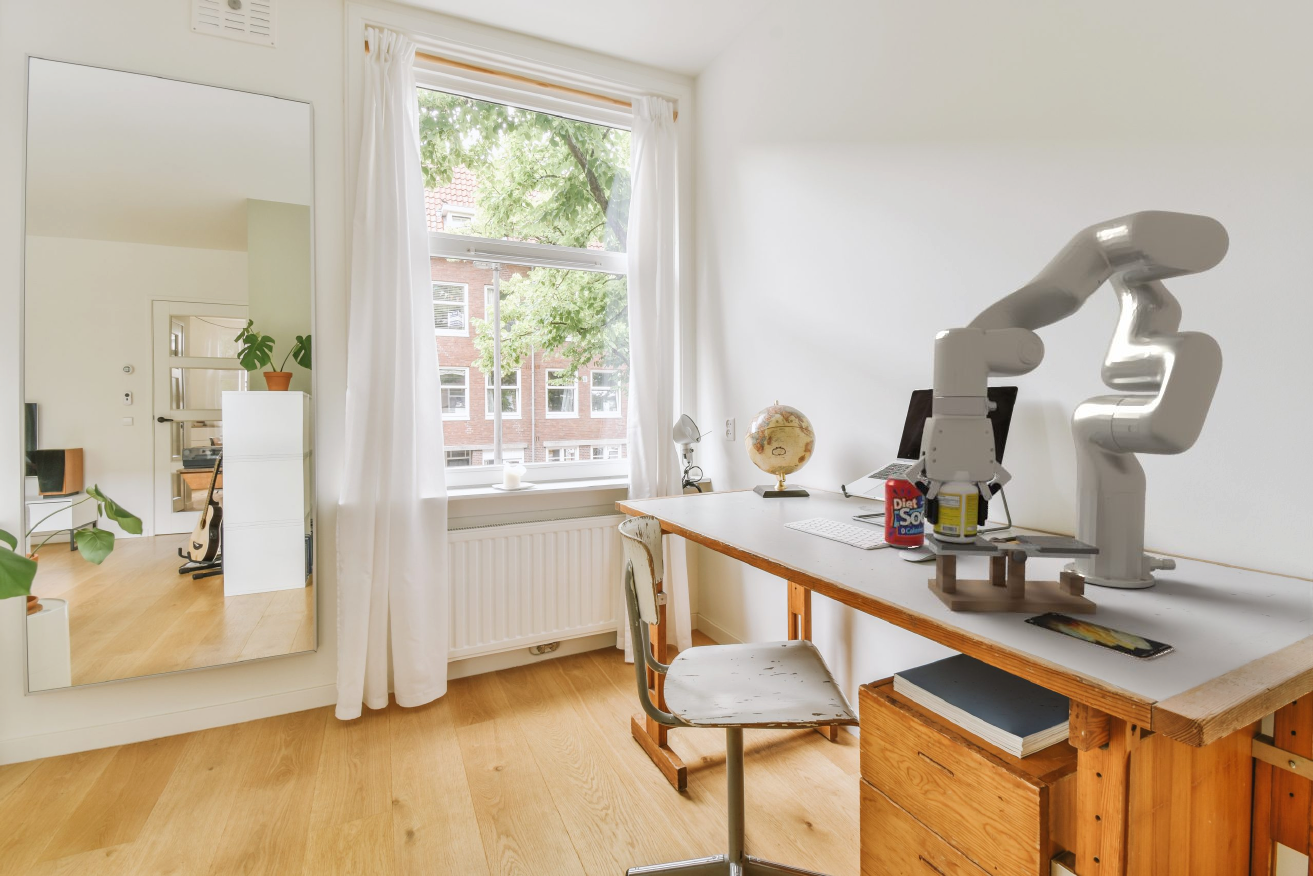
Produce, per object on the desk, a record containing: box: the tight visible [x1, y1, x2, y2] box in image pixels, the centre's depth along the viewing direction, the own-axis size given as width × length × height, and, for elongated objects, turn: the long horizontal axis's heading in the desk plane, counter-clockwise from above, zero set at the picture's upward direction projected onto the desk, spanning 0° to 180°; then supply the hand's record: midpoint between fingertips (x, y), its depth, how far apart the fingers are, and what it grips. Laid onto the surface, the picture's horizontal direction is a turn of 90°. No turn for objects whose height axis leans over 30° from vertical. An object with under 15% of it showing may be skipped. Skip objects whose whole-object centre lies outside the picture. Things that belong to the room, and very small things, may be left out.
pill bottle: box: [932, 471, 978, 543], centre depth 95 cm, size 6×6×11 cm
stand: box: [927, 536, 1097, 615], centre depth 94 cm, size 20×11×9 cm, turn 83°
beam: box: [924, 532, 1099, 559], centre depth 94 cm, size 22×8×2 cm, turn 83°
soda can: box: [884, 474, 925, 549], centre depth 130 cm, size 8×8×15 cm
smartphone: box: [1023, 612, 1174, 661], centre depth 81 cm, size 7×1×15 cm
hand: (955, 522), depth 95 cm, fingers closed on pill bottle, 6 cm apart
